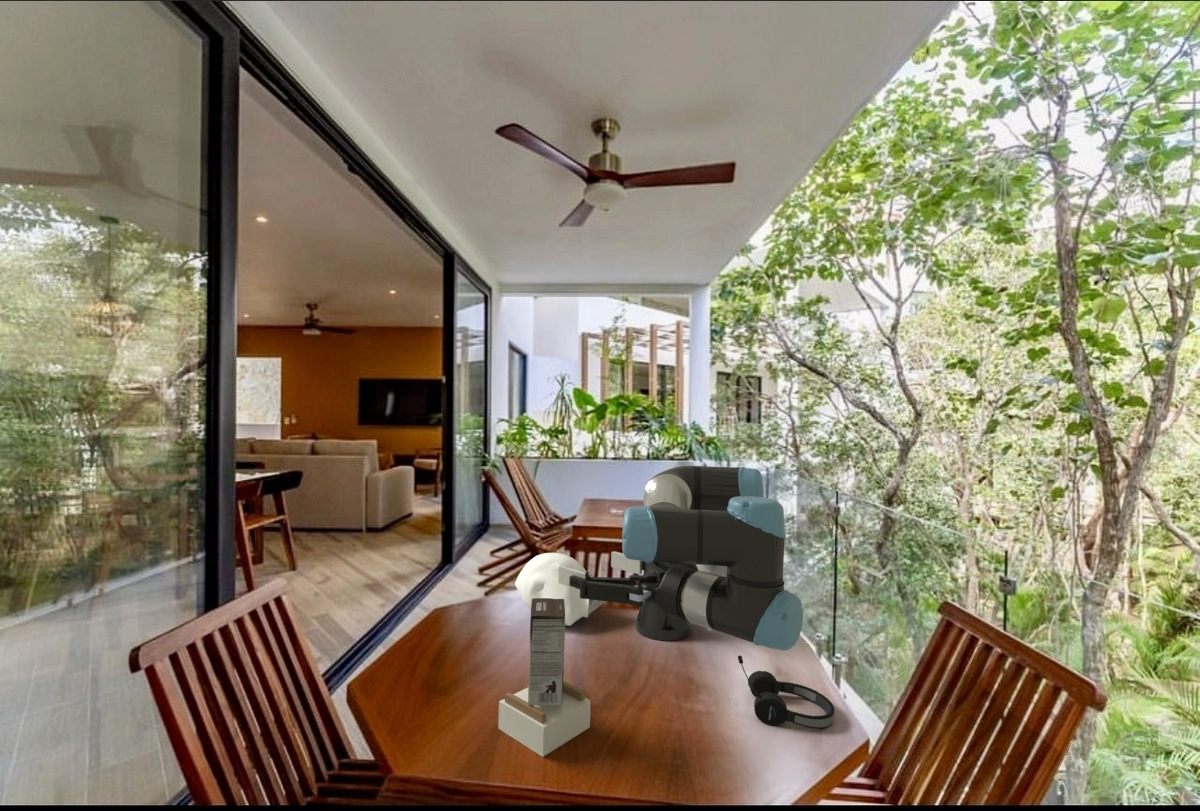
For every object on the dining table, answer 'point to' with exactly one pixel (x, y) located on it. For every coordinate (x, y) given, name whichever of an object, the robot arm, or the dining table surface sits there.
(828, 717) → the headset
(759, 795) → the dining table surface
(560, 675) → the coffee box
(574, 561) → the head sculpture
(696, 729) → the dining table surface
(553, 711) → the plinth
